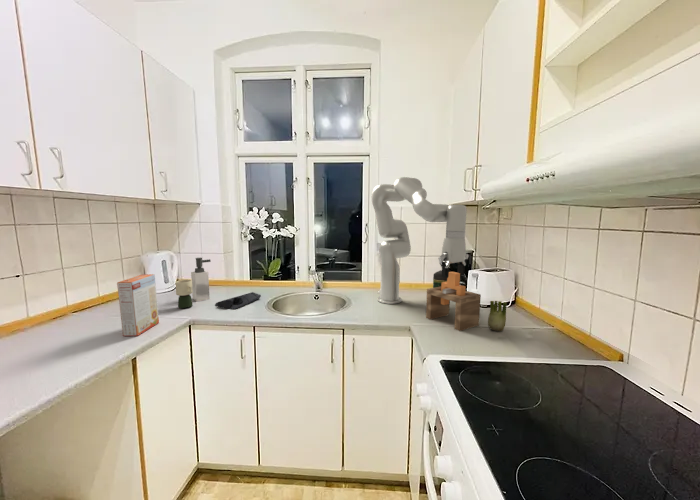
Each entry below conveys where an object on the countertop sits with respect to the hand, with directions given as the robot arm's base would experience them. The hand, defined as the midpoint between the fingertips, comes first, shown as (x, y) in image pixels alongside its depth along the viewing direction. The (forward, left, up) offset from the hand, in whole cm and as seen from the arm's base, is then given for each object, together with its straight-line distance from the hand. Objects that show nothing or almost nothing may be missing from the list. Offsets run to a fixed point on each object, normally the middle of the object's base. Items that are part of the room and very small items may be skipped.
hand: (452, 275), depth 132 cm
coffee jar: (-14, +9, -20) cm, 26 cm away
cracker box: (-57, -112, -20) cm, 127 cm away
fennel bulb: (+16, +7, -20) cm, 27 cm away
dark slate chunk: (-75, -70, -20) cm, 105 cm away
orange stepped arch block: (0, 0, -13) cm, 13 cm away
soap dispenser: (-92, -85, -20) cm, 127 cm away
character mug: (-80, -95, -20) cm, 126 cm away
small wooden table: (0, 0, -20) cm, 20 cm away
